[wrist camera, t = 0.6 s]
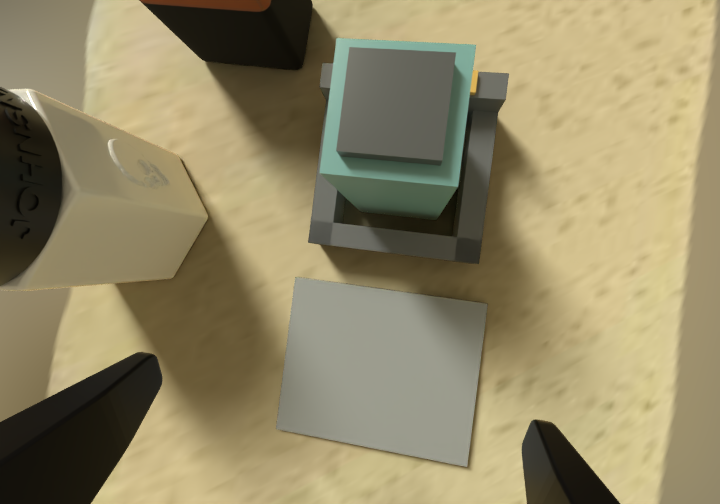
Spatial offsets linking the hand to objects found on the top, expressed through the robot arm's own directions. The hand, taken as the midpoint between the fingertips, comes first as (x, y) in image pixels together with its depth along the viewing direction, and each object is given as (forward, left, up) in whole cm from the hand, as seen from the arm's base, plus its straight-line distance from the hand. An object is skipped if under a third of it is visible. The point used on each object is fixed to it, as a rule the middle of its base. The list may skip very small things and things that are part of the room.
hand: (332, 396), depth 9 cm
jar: (+4, +16, -13) cm, 21 cm away
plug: (+8, 0, -13) cm, 15 cm away
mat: (-3, 0, -13) cm, 13 cm away
